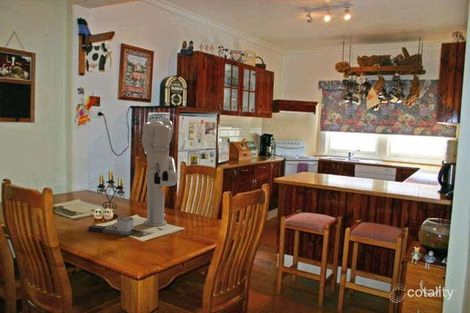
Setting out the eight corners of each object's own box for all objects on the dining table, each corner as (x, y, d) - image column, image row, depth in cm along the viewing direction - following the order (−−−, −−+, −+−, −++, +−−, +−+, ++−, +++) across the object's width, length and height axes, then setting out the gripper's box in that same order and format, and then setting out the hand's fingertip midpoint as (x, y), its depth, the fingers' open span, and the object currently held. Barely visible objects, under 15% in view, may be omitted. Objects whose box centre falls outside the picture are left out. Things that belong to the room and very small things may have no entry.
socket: (123, 227, 201) (123, 216, 200) (133, 228, 200) (133, 217, 199) (117, 230, 195) (117, 219, 195) (127, 232, 194) (127, 220, 193)
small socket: (116, 228, 207) (116, 222, 207) (122, 228, 206) (122, 222, 206) (112, 230, 204) (112, 223, 203) (118, 230, 203) (118, 224, 203)
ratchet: (93, 228, 205) (93, 216, 205) (133, 233, 200) (133, 221, 199) (86, 231, 199) (86, 220, 198) (127, 236, 194) (127, 224, 193)
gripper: (162, 147, 202) (161, 179, 204) (147, 150, 185) (146, 184, 187) (175, 148, 200) (174, 180, 202) (161, 151, 183) (160, 185, 185)
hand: (161, 182), depth 194 cm, fingers open, 9 cm apart
